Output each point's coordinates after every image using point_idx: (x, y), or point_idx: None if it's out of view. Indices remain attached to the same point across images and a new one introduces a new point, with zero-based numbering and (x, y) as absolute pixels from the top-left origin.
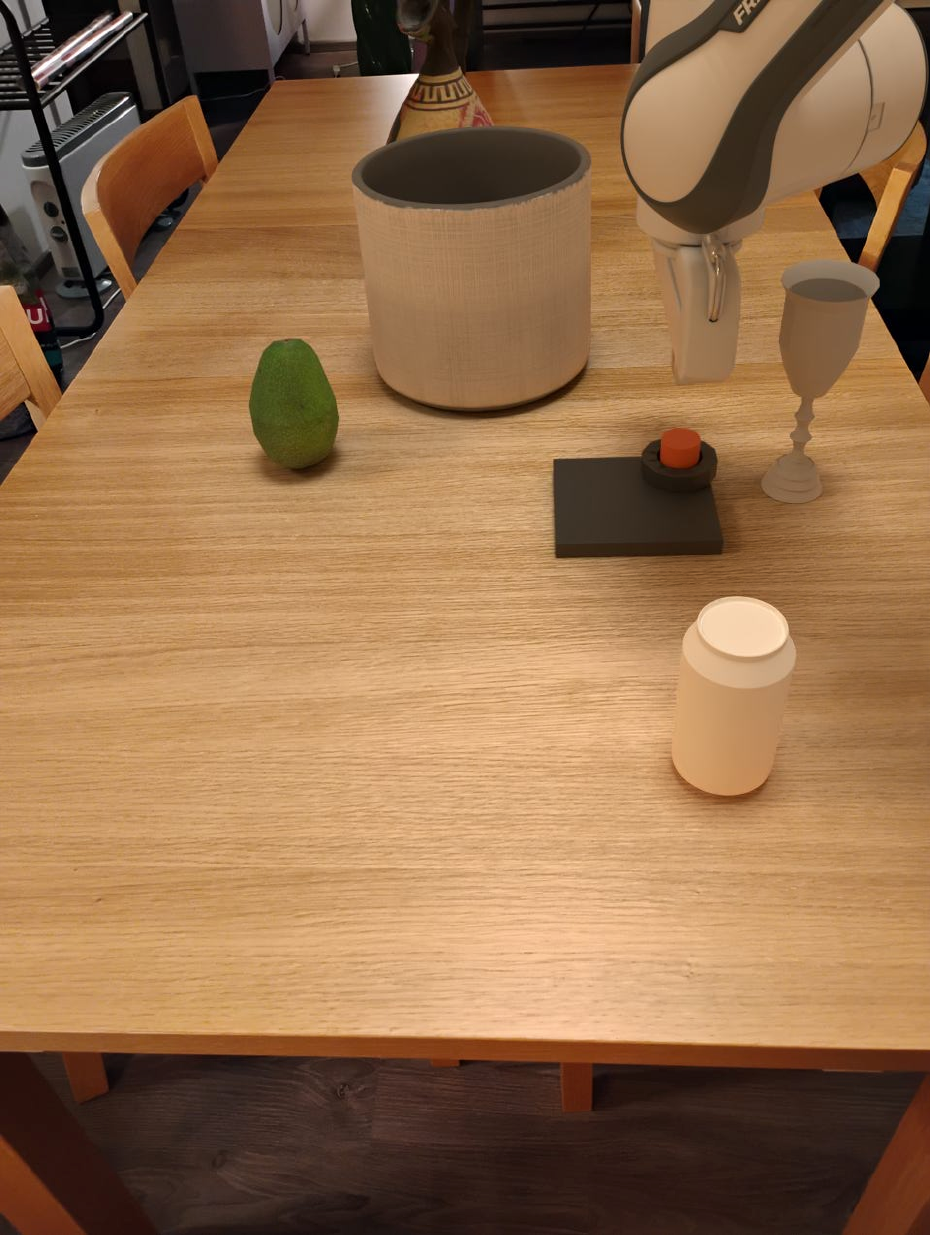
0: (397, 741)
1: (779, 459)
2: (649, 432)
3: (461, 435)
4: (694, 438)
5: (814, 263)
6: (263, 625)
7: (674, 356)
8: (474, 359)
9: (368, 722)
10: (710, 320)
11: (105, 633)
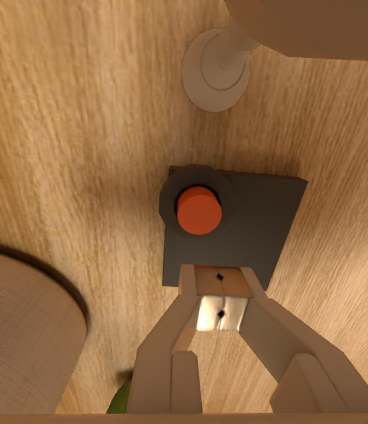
0: (361, 340)
1: (209, 84)
2: (104, 202)
3: (111, 322)
4: (202, 201)
5: None
6: (268, 378)
7: (217, 329)
8: (63, 374)
9: (345, 348)
10: (286, 414)
11: (254, 410)
